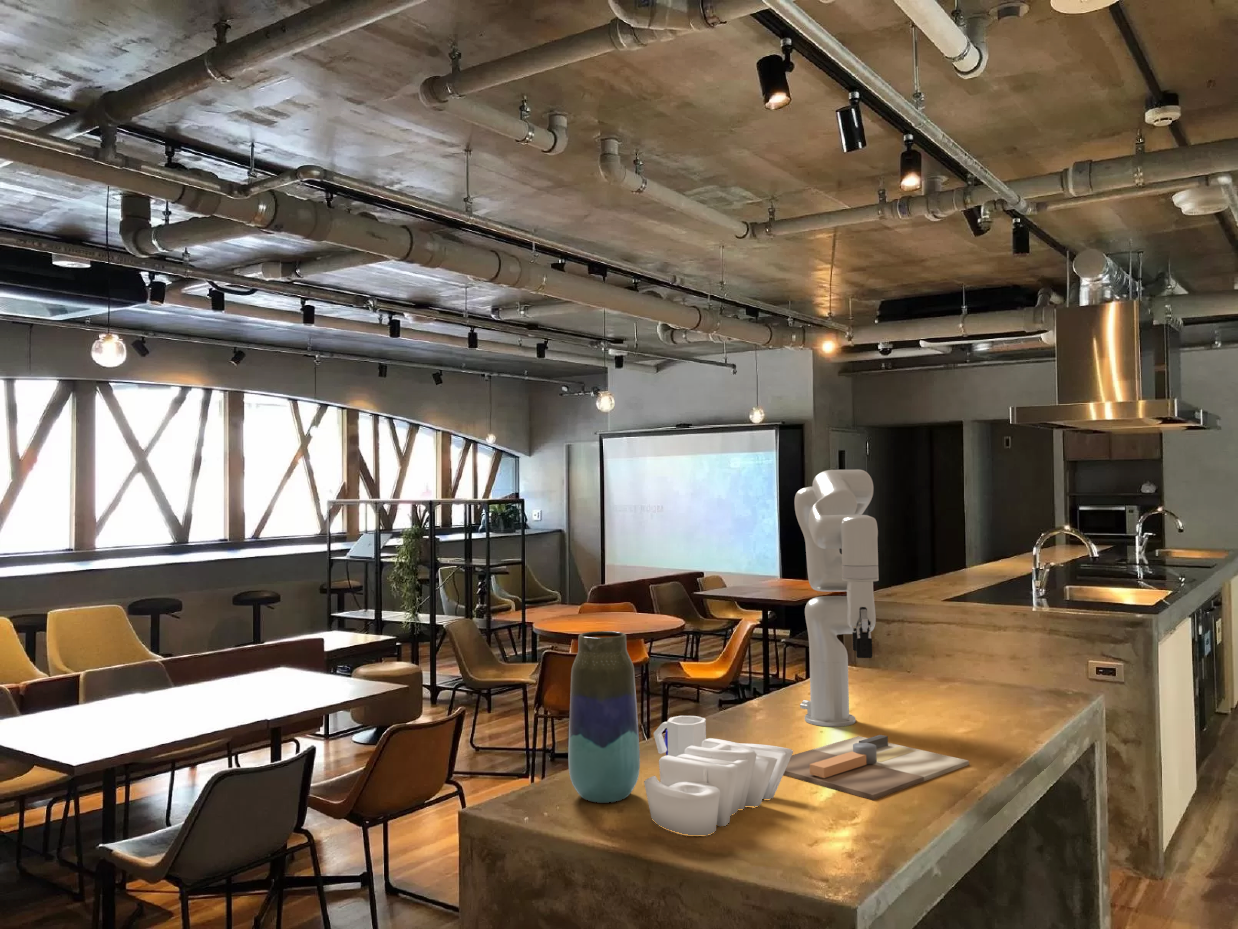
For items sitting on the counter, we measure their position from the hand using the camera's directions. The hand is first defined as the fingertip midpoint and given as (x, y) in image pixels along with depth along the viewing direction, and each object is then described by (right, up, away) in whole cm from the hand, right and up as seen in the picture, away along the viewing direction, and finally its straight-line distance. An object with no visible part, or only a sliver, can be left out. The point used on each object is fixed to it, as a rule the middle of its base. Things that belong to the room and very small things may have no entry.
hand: (862, 654), depth 202 cm
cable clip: (-40, -25, +14) cm, 49 cm away
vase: (-55, -24, -19) cm, 63 cm away
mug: (-39, -24, +2) cm, 46 cm away
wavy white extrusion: (-34, -24, -28) cm, 50 cm away
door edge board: (0, -24, -2) cm, 24 cm away
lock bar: (-5, -22, -6) cm, 24 cm away
